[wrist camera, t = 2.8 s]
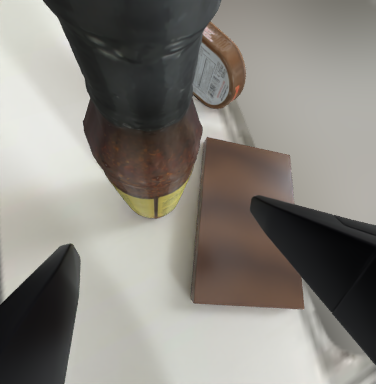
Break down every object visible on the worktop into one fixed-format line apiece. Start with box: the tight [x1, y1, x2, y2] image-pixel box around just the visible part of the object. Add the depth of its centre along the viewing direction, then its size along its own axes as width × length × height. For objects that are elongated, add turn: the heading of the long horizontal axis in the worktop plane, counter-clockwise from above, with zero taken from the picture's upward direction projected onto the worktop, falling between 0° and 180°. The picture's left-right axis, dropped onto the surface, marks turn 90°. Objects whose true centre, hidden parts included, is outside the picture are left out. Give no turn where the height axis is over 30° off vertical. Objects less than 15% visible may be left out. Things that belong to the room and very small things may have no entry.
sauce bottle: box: [43, 0, 221, 218], centre depth 12 cm, size 6×6×20 cm
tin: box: [192, 21, 246, 109], centre depth 24 cm, size 15×3×8 cm, turn 47°
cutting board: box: [191, 137, 304, 310], centre depth 22 cm, size 20×13×2 cm, turn 174°
